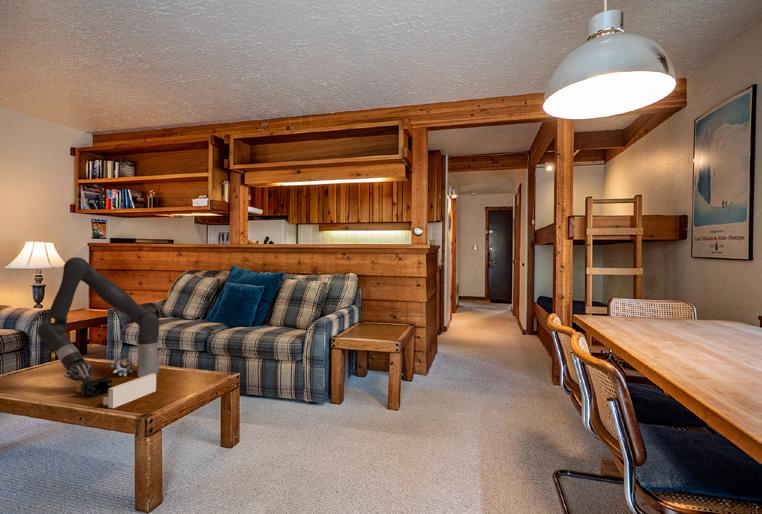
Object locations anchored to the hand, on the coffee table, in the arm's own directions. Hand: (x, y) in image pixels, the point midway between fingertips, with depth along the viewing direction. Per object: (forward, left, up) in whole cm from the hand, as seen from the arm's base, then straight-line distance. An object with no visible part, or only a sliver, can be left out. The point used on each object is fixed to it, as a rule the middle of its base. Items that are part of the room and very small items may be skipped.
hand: (89, 385), depth 177 cm
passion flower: (-26, -11, -4) cm, 29 cm away
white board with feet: (0, +22, -4) cm, 23 cm away
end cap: (0, +4, -4) cm, 6 cm away
